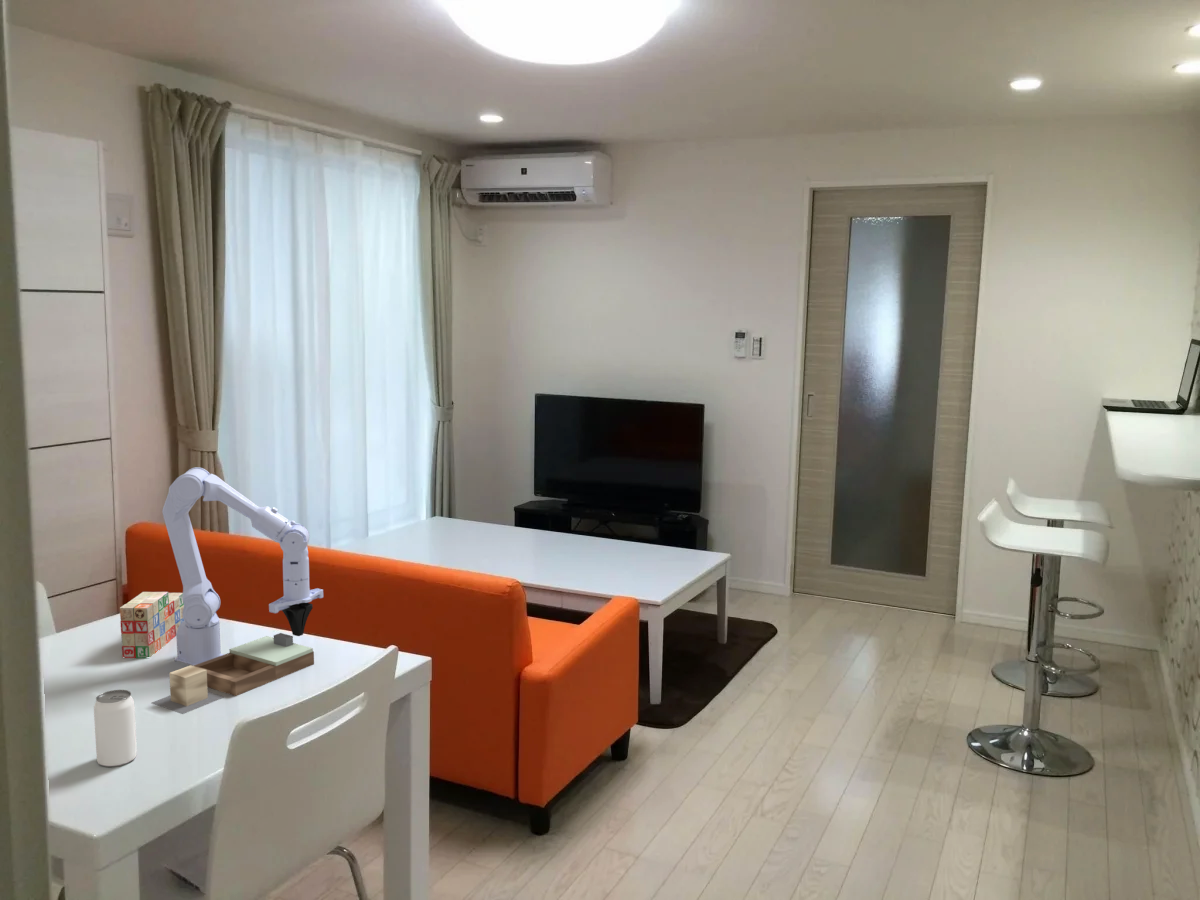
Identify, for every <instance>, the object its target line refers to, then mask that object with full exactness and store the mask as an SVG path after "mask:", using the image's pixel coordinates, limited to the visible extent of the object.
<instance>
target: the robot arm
mask: <svg viewBox="0 0 1200 900" xmlns="http://www.w3.org/2000/svg"><path fill="white" fill-rule="evenodd" d="M202 496H203V499H202V501H203V502H212V501H214V502H221V503H222V504H223V505H225V506H228V508H230V509H232V510H234V511H236V512H237V513H239V514H241V515H243V516H245V517H247V518H248V519H249V520H250V522H251V526H252V528H253V529H254V530H256V531H258V532H259V533H261V534H263V535H264V536H266V537H267V538H269V539H270V540H272V541H274V543H278V544H279V546H280V549H281V550H282V553H283V555H282V556H283V558H282V581H283V582H282V583H283V596H282V597H280V598H278V599H276V600H275V601H273V602H271V603H269V604H268V610H269V611H268V612H269V613H272V614H278V613H279V612H280V611H282V612H283V614H284V616H285V617H286V619H287V621H288V623H289V626H290V630H291V633H292V636H296V637H300V636H303V635H304V632H305V627H306V624H307V620H308V617H309V615H310V613H311V611H312V609H313V608H314V607H313V605H314V604H312V603H311V602H312V601H314V600H316V599H323V598H324V589H321V588H318V587H317V588H314V589H311V588H310V559H309V550H308V543H309V541H310V532H309V530H308V529H307V528H306V527H305V526H304V524H303V523H302V524H301V523H296V521H295V520H293V519H291V520H290V519H289V518H287V517H285V516H284V515H282V514H281V513H279V512H278V511H279V509H278V508H277V507H275V506H273V507H270V506H268V505H266V506H258V505H257V504H256V503H254V502H253V501H251V500H250V499H249V498H248V497H246V496H245V495H243V494H242V493H241V492H239V491H238V490H236V489H234V488H233V486H230V484H228V483H227V482H225V481H224V480H223V479H221V478H220V477H219V476H218V475H216V474H215V473H214V474H213V473H210V472H209V471H208V470H206V469H205V468H203V467H192V468H190V469H188V470H187V471H185V473H183V474H180V475H179V476H178V477H176V478H175V480H173V482H172V483H171V485H169V487H168V491H167V495H166V499H165V501H164V505H163V508H162V510H161V511H162V516H163V517H162V518H163V520H164V524H165V526H166V531H167V534H168V537H169V541H170V544H171V548H172V552H173V555H174V559H175V562H176V566H177V569H178V572H179V576H180V579H181V583H182V584H181V585H182V593H183V602H184V608H183V619H184V621H183V622H182V623H181V624H180V625H179V627H178V629H177V633H176V636H175V638H176V653H177V657H174V659H173V661H175V662H181V663H184V664H187V665H189V666H190V665H191V666H194V665H197V664H200V663H202V662H205V661H208V660H211V659H214V658H216V657H219V656H222V655H225V654H224V653H222V652H221V651H222V650H221V625H220V623H221V621H220V618H219V616H218V614H217V611H218V610H219V609H220V607H221V598H220V596H219V594H218V593H217V592H216V591H215V589H214V587H213V585H212V582H211V581H210V580H209V579H208V577H207V576H206V572H205V568H204V564H203V561H202V557H201V554H200V550H199V547H198V543H197V542H198V541H197V540H196V539H197V538H196V536H195V532H194V529H193V528H194V527H193V525H192V522H191V517H190V513H189V512H190V511H191V510H192V508H193V506H194V505H195V504H196V503H197V500H199V499H201V497H202Z"/></svg>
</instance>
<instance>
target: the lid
mask: <svg viewBox="0 0 1200 900" xmlns="http://www.w3.org/2000/svg"><path fill="white" fill-rule="evenodd" d="M228 650H229V653H233V654H236V655H240V656H243V657H247V658H250V659H254V660H257V661H261V662H264V663H268V664H271V665H275V666H278V665H280V664H283V663H285V662H288V661H290V660H293V659H295V658H298V657H300V656H303V655H306V654H308V653H311V652H313V651H314V648H313V647H309V646H307V645H302V644H298V643H295V642H294V635H289V634H286V633H282V632H278V633H277V634H273V637H271V636H268V635H265V636H262V637H260V638H257V639H254V640H252V641H248V642H246V643H244V644H243V643H242V644H240V645H237V646H235V647H230V649H228Z"/></svg>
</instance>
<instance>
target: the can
mask: <svg viewBox="0 0 1200 900" xmlns="http://www.w3.org/2000/svg"><path fill="white" fill-rule="evenodd" d="M95 700H96V702H94V706H93V715H94V716H93V718H94V719H93V720H94V721H93V722H94V734H95V735H94V736H95V748H96V749H95V750H96V761H97V763H98V765H100V766H101V767H105V768H115V767H120V766H125V765H128V764H130V763H131V762H133V761H134V760H135V759H136V757H137V755H138V745H137V744H138V743H137V724H136V708H135V700H134V698H133V697H132V692H131V691H130V690H129V689H112V690H108V691H105V692H101V693H99V694H98V695H97V696H95Z"/></svg>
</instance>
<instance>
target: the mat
mask: <svg viewBox="0 0 1200 900" xmlns="http://www.w3.org/2000/svg"><path fill="white" fill-rule="evenodd" d="M224 698H225V696H224V695H220V694H218V693H214V692H211V691H208V698H206V699H204V700H201V701H199V702H196V703H194V704H191V705H189V706H185V705H182V704H179V703H176V702H173V701H171V695H168V696H165V697H163V698H160V699H157V700H154V701H152V702H151V704H153V705H155V706H159V707H161V708H165V709H168V710H170V711H173V712H175V713H179V714H180V715H181V714H182V715H184V714H187V713H189V712H192V711H194V710H197V709H199V708H201V707H204V706H206V705H209V704H212V703H214V702H216V701H219V700H221V699H224Z"/></svg>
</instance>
